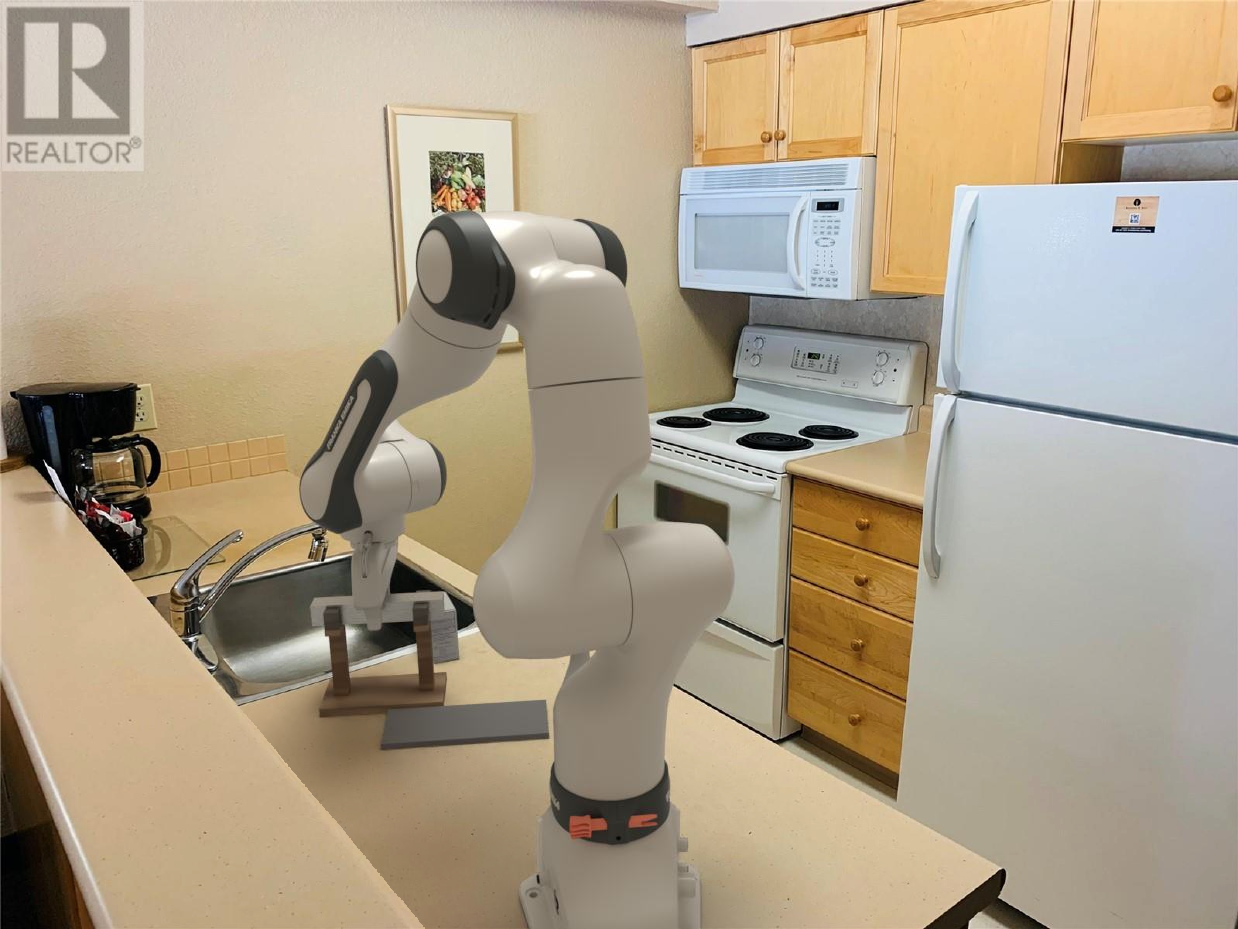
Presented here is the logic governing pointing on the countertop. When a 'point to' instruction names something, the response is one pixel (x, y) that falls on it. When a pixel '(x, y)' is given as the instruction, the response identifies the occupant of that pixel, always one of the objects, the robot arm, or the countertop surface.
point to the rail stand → (381, 690)
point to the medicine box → (445, 634)
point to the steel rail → (391, 610)
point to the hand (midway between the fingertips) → (379, 614)
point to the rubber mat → (465, 724)
